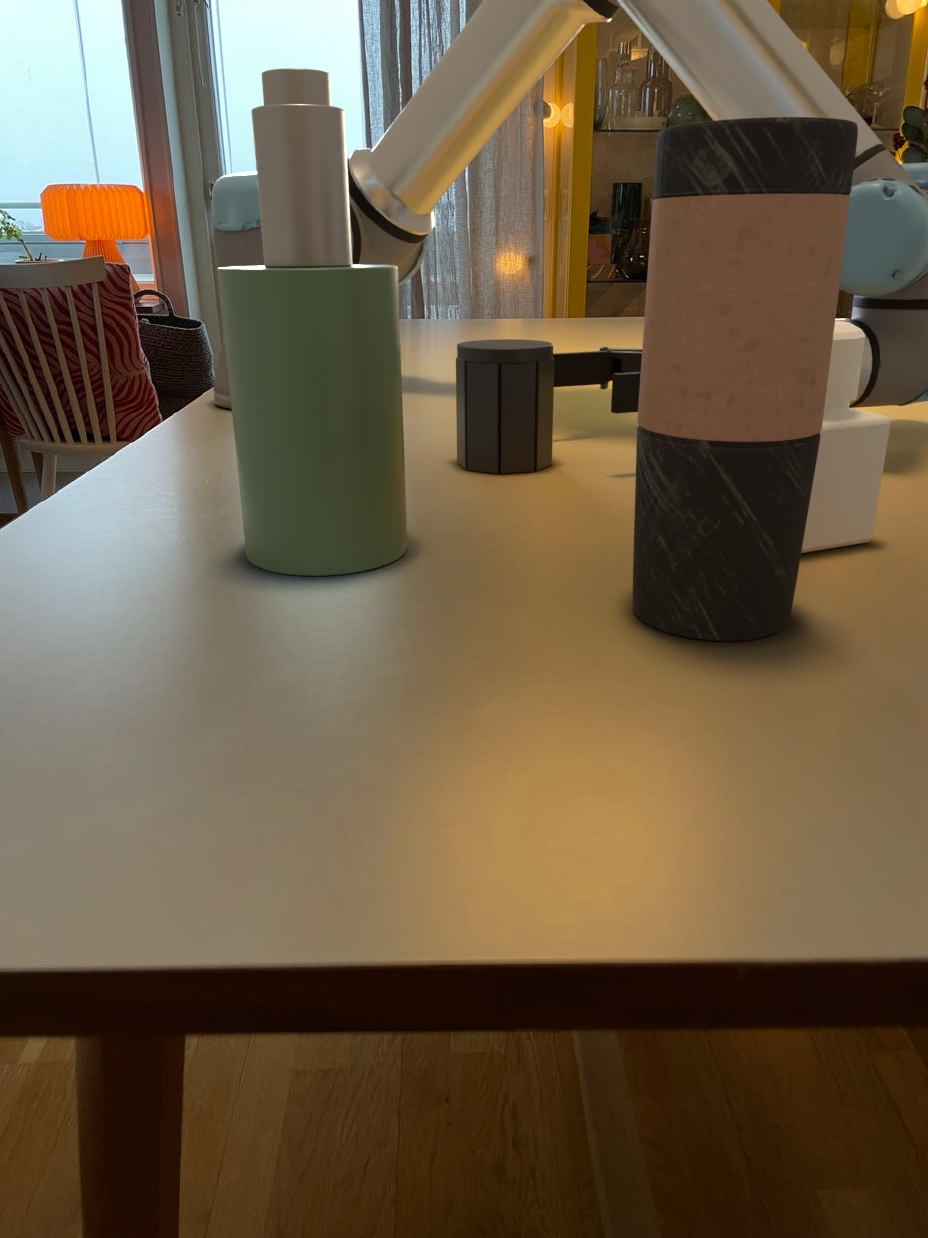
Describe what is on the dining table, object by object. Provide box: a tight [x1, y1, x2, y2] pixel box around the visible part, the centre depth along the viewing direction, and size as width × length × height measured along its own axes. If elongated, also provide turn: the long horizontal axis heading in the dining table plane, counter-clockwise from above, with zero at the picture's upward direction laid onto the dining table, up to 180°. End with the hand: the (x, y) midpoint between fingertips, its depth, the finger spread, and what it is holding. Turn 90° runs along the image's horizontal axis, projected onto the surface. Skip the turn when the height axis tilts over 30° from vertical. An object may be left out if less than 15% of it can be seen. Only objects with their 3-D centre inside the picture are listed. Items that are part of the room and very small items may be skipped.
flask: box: [217, 67, 408, 577], centre depth 48 cm, size 9×9×24 cm
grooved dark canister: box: [455, 338, 555, 475], centre depth 71 cm, size 7×7×9 cm
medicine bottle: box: [801, 320, 891, 554], centre depth 52 cm, size 7×7×12 cm
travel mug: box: [632, 117, 858, 642], centre depth 40 cm, size 8×8×20 cm
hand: (571, 381), depth 73 cm, fingers open, 13 cm apart
